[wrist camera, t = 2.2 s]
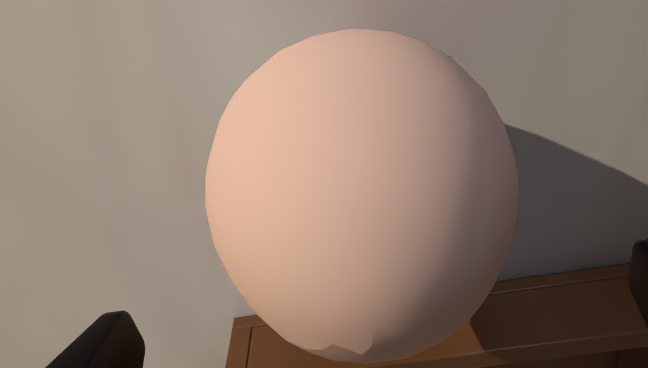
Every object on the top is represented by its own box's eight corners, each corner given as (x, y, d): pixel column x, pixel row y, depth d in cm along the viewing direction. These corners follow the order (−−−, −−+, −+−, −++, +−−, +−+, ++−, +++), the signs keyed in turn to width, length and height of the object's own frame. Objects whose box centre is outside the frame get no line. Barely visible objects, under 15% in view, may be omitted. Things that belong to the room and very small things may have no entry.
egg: (501, 155, 17) (635, 378, 10) (306, 242, 18) (299, 482, 11) (410, -59, 13) (515, 41, 6) (182, 72, 15) (64, 265, 8)
